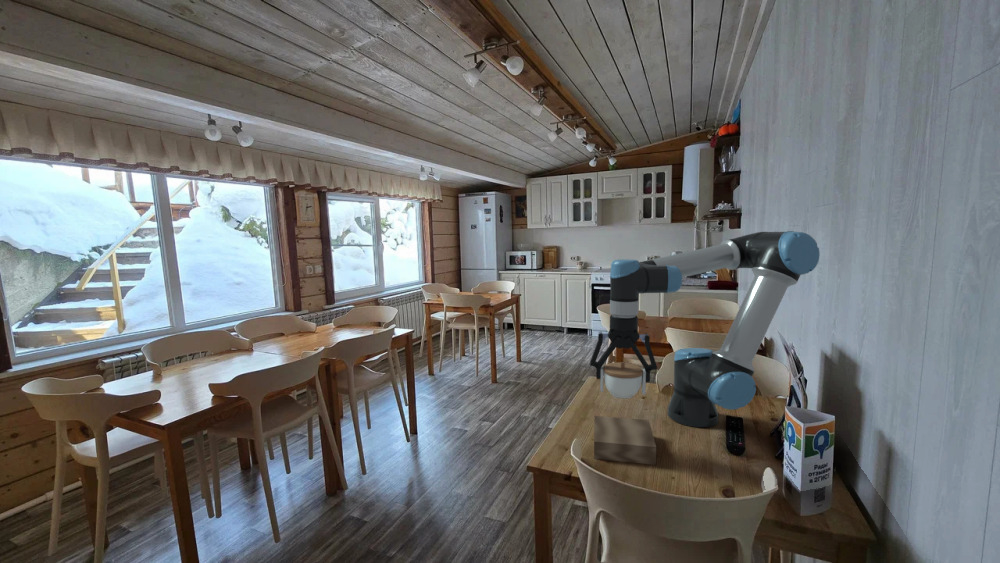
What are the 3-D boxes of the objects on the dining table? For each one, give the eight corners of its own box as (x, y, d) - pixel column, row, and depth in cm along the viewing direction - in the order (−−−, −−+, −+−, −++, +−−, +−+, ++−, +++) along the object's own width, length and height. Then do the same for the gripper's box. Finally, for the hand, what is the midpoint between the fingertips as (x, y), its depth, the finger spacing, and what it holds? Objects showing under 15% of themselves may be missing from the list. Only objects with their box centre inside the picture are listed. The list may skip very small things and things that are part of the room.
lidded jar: (636, 405, 109) (637, 371, 107) (597, 397, 114) (598, 364, 113) (645, 391, 118) (646, 360, 116) (609, 385, 123) (609, 354, 122)
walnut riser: (648, 435, 124) (648, 419, 123) (655, 464, 108) (656, 447, 108) (594, 430, 127) (594, 415, 127) (594, 458, 112) (594, 441, 111)
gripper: (666, 313, 114) (663, 389, 117) (581, 311, 120) (581, 383, 122) (670, 319, 107) (667, 399, 109) (580, 316, 112) (580, 393, 115)
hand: (622, 391), depth 116 cm, fingers closed on lidded jar, 11 cm apart
